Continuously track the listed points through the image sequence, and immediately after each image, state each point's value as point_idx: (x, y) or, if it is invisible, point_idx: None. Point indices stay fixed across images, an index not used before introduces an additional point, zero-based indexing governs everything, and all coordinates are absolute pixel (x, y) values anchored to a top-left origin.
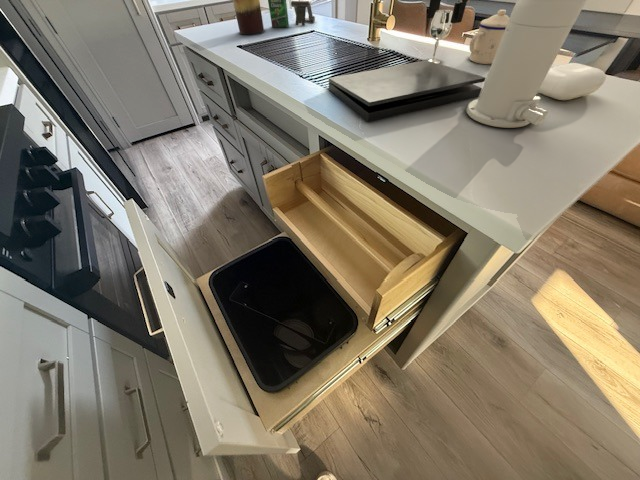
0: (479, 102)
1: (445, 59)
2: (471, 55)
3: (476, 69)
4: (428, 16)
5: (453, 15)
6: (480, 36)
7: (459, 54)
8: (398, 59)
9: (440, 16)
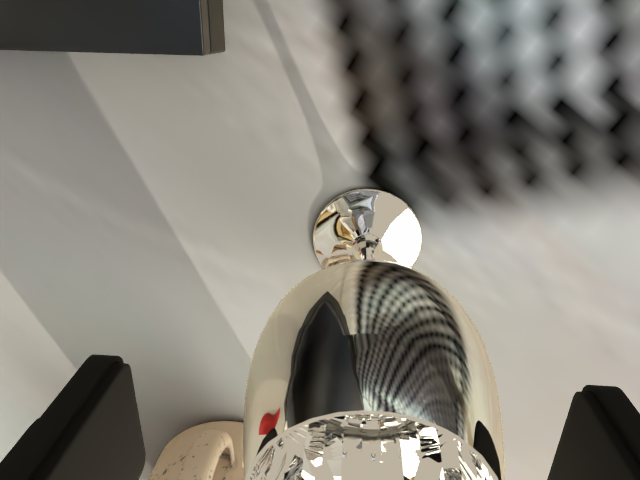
0: None
1: None
2: None
3: (122, 348)
4: (599, 397)
5: (51, 404)
6: None
7: None
8: (608, 61)
9: (302, 378)
